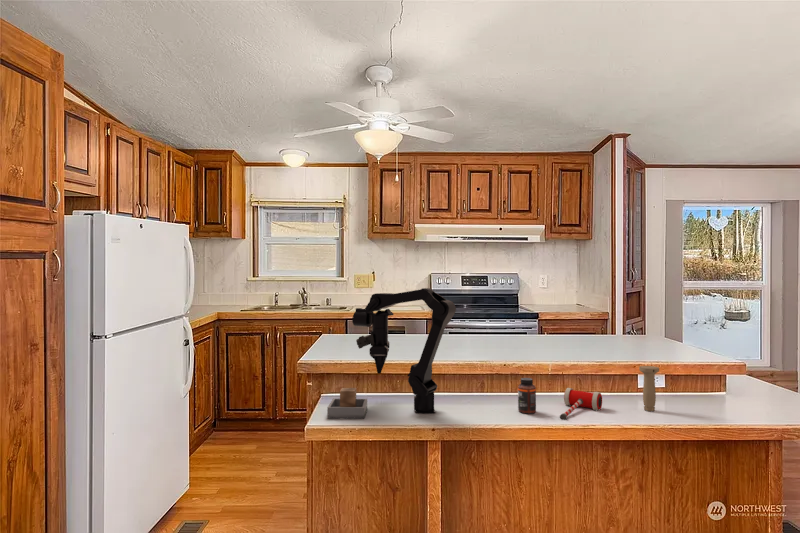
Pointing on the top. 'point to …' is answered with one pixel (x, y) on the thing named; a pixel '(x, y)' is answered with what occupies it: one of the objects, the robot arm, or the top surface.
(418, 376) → the robot arm
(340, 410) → the grey square tray
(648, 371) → the handle
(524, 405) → the supplement bottle
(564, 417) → the toy hammer
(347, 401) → the walnut block
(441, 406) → the top surface
